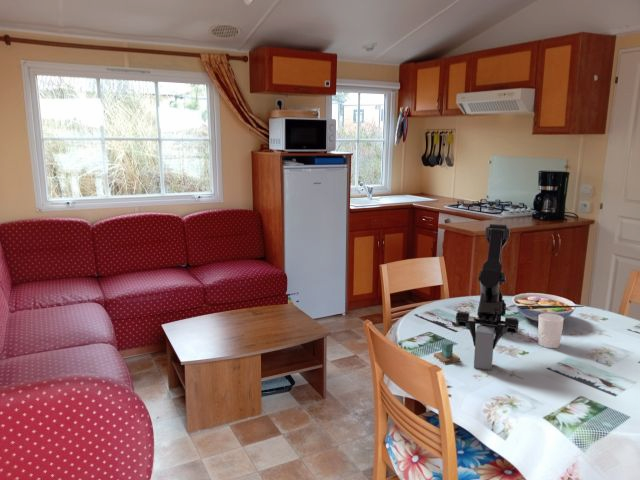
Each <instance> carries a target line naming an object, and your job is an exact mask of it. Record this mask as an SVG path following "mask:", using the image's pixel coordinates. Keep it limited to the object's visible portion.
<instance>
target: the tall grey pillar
mask: <svg viewBox="0 0 640 480" xmlns="http://www.w3.org/2000/svg"><path fill="white" fill-rule="evenodd" d="M495 334H496V331H495V327H487V326H480V325H479V324H477V326H476V338H475V346H474V357H473V368H476V369H482V370H489V371H492V367H493V360H494V349H493V342H494V338H495Z"/></svg>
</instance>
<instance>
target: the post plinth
mask: <svg viewBox="0 0 640 480" xmlns="http://www.w3.org/2000/svg"><path fill="white" fill-rule="evenodd" d="M441 343H442V344H441V351H439V352H434V353H433V357H435V358H436V360H438V359H439V360H438V361H440V362H441V361H442V362H443V363H442V362H441V363H442V364H444V363H446V364H451V363H450V362H452V363H457V362H456V361H458V362H461V357H459V356H458V355H457V354H455V353H454V352H453V349H454V343H453V342H451V341H450V340H447V341H442V342H441Z"/></svg>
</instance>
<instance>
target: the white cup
mask: <svg viewBox="0 0 640 480" xmlns="http://www.w3.org/2000/svg"><path fill="white" fill-rule="evenodd" d="M564 320H565V319H564V318H563V317H562V316H559V315H556V314H551V313H543V314H540V315H539V321H538V322H537V323H538V324H537V325H538V327H537V330H538V331H537V343H538V345H539V346H541V347H542V348H543V347H544V348H546V349H557V348H560V345H561V340H562V339H561V338H562V334H563V329H564Z"/></svg>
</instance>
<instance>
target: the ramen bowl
mask: <svg viewBox="0 0 640 480" xmlns="http://www.w3.org/2000/svg"><path fill="white" fill-rule="evenodd" d="M511 300H512V302H513V304H514V306H515V308H516V309H517V310H518V312H519V314H521V315H522V316H524V317H526V318H528V319H530V320H532V321H533V322H537V323H538V321H539V315H540V314H543V313H551V314H556V315H559V316H562V317H563V318H564V320H565V319H567V318H568V317H570V316H571V315H572V314H573V313H574V311H575V310H576V308H583V307H585V306H584V305H576V304H575V303H574V302H573V301H572V300H570V299H568V298H565V297H562V296H558V295H554V294H549V293H547V294H546V293H540V292H539V293H536V292H526V293H519V294H516V295H514V296H513V297H512V299H511Z"/></svg>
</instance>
